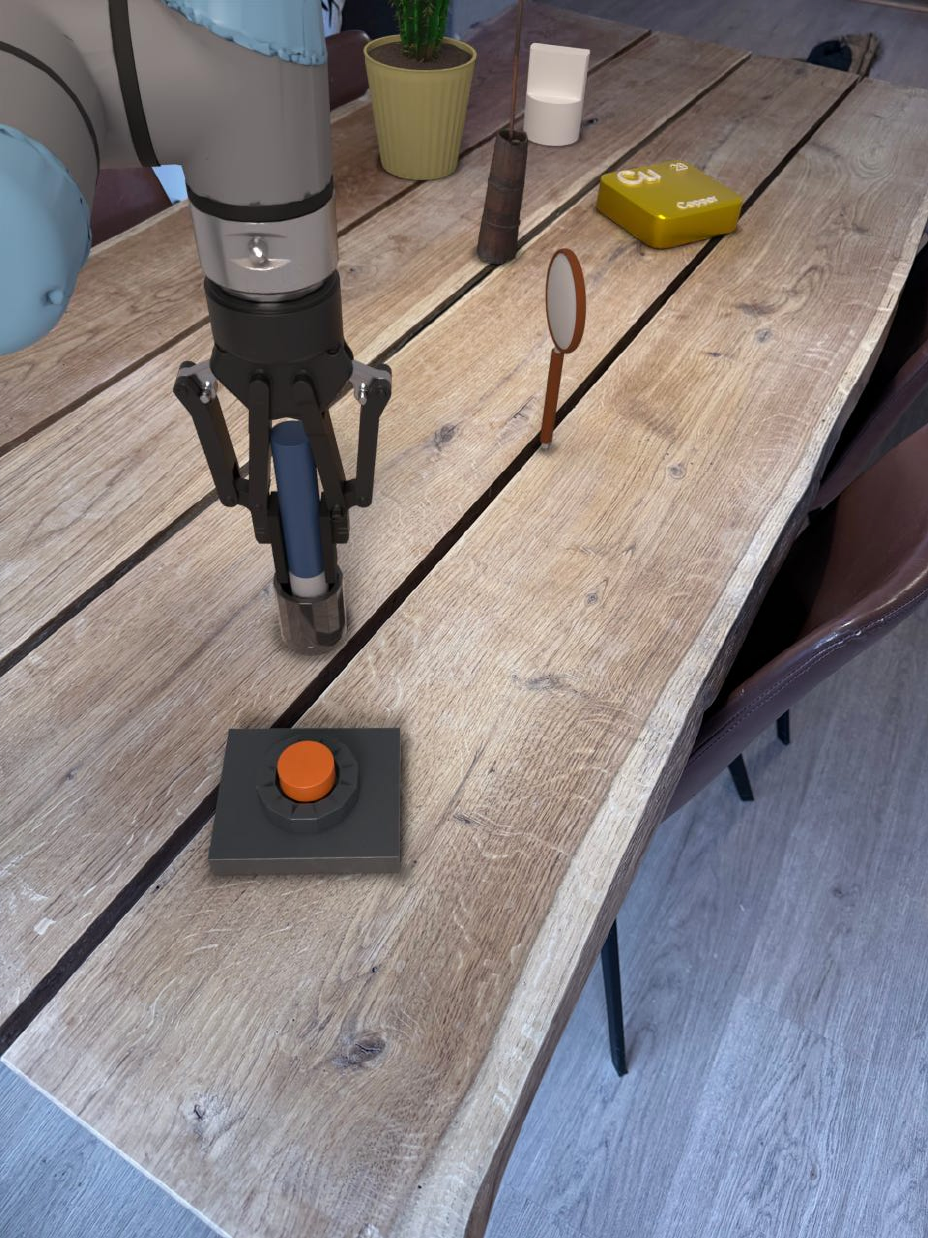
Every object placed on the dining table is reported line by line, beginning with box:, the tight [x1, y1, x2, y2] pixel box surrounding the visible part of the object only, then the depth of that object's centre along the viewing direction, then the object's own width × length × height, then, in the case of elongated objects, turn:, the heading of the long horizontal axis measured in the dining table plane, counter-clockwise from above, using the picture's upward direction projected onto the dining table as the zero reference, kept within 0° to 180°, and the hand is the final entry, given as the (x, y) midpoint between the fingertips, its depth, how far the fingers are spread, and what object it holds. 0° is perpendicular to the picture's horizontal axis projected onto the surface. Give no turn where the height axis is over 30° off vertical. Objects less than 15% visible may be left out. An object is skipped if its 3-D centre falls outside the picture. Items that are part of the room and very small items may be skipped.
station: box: [207, 727, 402, 877], centre depth 61 cm, size 12×10×4 cm
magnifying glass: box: [539, 247, 587, 450], centre depth 82 cm, size 9×2×20 cm, turn 13°
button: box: [277, 741, 336, 802], centre depth 59 cm, size 4×4×2 cm
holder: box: [272, 563, 348, 656], centre depth 70 cm, size 5×5×6 cm
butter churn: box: [476, 0, 530, 265], centre depth 105 cm, size 9×10×28 cm
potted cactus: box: [363, 0, 477, 181], centre depth 123 cm, size 15×15×30 cm
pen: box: [270, 419, 329, 599], centre depth 65 cm, size 3×3×18 cm
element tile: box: [596, 159, 744, 250], centre depth 124 cm, size 15×15×5 cm
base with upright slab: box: [522, 42, 591, 147], centre depth 140 cm, size 9×9×12 cm
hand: (307, 569), depth 67 cm, fingers closed on pen, 3 cm apart
